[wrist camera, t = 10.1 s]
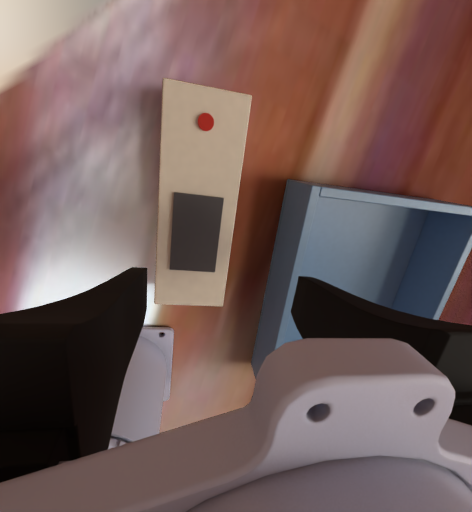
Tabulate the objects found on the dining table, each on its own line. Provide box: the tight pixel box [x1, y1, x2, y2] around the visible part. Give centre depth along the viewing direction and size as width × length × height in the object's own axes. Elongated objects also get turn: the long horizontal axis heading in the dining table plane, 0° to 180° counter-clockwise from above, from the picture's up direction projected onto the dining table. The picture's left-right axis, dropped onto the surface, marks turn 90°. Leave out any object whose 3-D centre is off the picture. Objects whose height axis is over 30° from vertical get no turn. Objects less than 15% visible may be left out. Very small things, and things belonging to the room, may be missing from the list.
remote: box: [154, 78, 252, 307], centre depth 18 cm, size 5×14×3 cm, turn 172°
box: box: [251, 179, 472, 378], centre depth 22 cm, size 13×17×4 cm
